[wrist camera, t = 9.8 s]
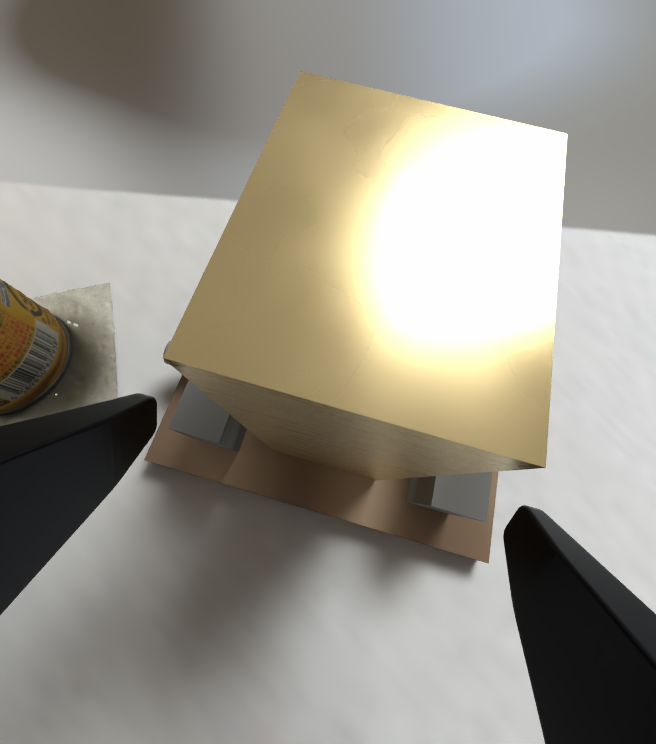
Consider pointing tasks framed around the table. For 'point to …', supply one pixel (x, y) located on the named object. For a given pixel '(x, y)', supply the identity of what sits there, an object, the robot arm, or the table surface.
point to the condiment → (55, 351)
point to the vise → (325, 480)
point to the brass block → (386, 287)
